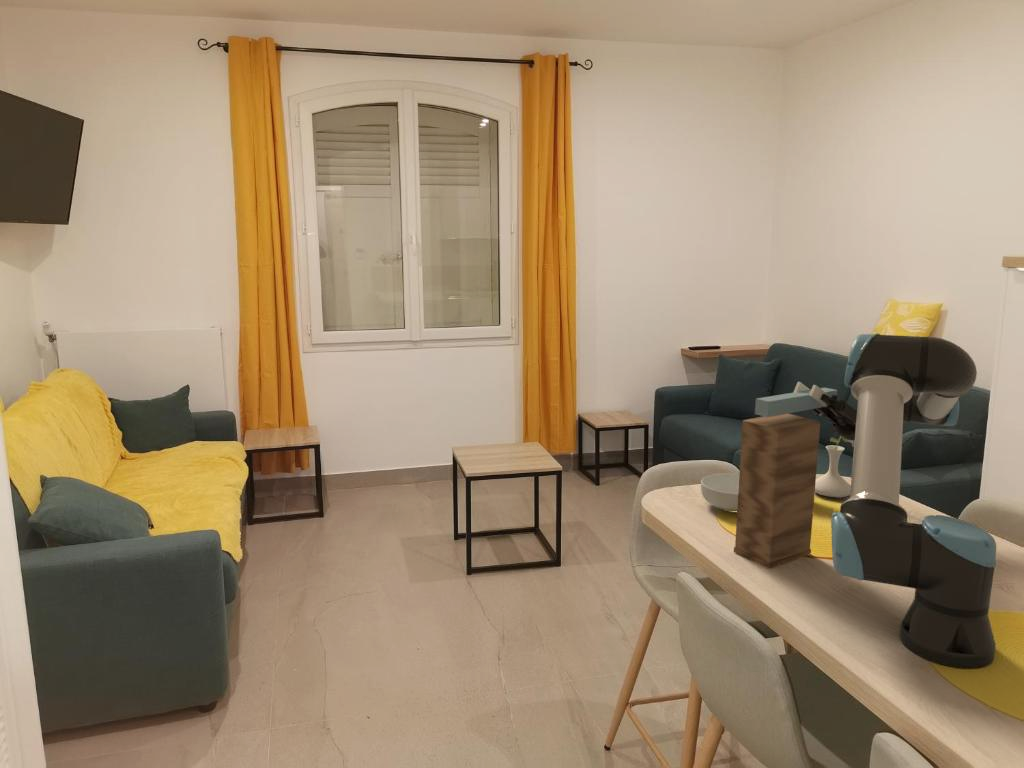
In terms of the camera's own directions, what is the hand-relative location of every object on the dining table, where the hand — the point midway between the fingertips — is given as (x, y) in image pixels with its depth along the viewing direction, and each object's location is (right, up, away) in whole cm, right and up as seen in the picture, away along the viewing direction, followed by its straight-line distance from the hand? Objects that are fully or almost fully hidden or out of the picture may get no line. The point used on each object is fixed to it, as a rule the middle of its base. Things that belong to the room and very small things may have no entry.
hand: (804, 388), depth 176 cm
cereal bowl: (-7, -33, +33) cm, 47 cm away
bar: (-2, -5, 0) cm, 5 cm away
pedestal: (-6, -39, +4) cm, 39 cm away
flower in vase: (+25, -31, +44) cm, 59 cm away
